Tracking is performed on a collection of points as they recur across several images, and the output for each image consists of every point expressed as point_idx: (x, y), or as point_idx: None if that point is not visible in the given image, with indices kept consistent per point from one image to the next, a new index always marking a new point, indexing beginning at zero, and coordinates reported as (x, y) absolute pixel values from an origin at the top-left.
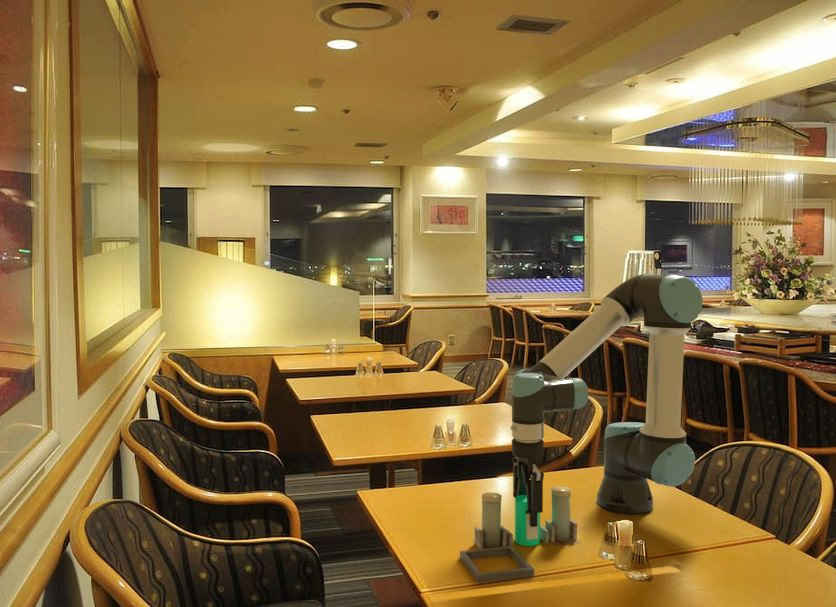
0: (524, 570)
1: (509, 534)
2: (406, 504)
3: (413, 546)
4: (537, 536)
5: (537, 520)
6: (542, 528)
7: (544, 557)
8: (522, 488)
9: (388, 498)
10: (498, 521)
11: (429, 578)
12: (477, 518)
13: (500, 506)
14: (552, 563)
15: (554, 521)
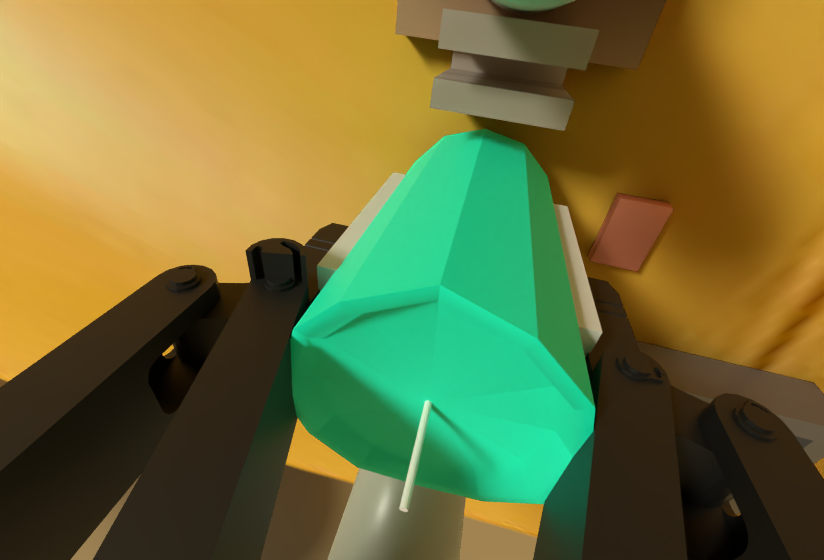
0: (816, 459)
1: None
2: (46, 341)
3: (340, 458)
4: (568, 215)
5: (585, 280)
6: (494, 118)
7: (653, 194)
8: (267, 490)
9: (13, 353)
10: None
11: (532, 520)
12: (129, 217)
13: (441, 544)
14: (752, 201)
15: (562, 5)
